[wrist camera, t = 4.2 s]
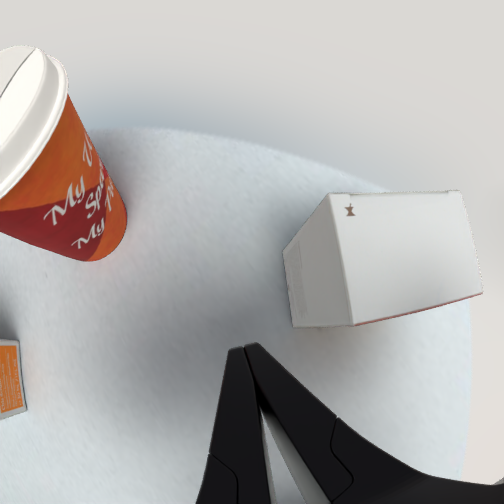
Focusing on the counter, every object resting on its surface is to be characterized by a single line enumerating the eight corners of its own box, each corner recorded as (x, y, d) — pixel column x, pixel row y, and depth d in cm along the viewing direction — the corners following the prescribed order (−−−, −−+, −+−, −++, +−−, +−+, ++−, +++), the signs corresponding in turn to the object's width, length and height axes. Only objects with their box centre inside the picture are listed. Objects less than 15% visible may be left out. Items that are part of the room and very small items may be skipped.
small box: (291, 328, 22) (347, 329, 11) (280, 250, 23) (323, 190, 13) (391, 310, 23) (487, 295, 12) (379, 239, 24) (462, 187, 14)
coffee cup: (146, 269, 22) (32, 174, 7) (48, 283, 21) (-102, 227, 6) (139, 164, 23) (75, 11, 9) (50, 184, 22) (-54, 74, 8)
